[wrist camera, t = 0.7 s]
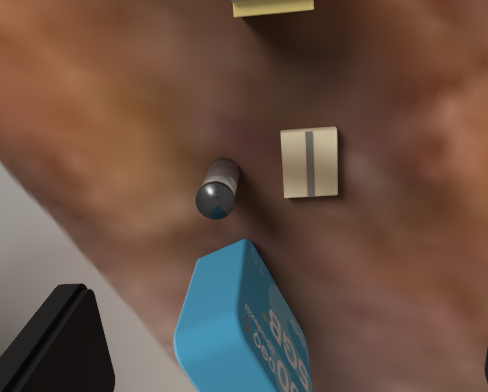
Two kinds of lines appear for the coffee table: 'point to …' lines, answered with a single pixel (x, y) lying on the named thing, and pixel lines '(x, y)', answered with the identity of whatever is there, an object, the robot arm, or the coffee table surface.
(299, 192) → the beige striped flat block
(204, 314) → the data package
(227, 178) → the shiny grey cylinder
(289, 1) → the yellow and grey block
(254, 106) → the coffee table surface
